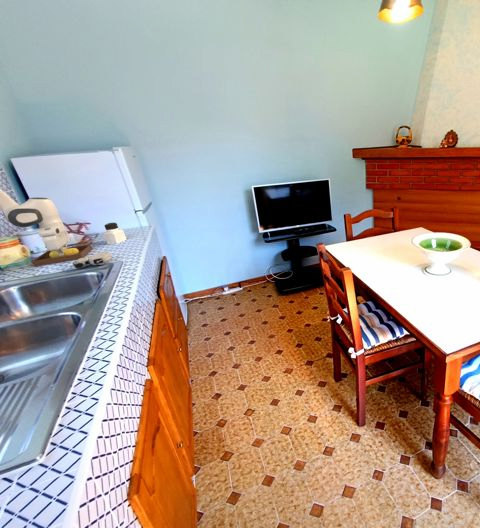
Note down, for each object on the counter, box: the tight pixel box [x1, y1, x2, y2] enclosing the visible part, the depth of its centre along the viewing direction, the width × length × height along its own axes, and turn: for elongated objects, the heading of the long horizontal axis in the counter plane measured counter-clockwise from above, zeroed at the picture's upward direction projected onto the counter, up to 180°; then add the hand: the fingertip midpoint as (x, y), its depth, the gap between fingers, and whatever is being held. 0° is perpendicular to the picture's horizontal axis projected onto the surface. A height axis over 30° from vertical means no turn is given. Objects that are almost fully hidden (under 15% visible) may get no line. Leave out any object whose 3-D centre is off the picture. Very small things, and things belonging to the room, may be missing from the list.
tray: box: [31, 244, 93, 268], centre depth 160 cm, size 19×19×3 cm
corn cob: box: [49, 247, 79, 258], centre depth 159 cm, size 12×4×4 cm, turn 117°
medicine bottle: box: [102, 222, 127, 245], centre depth 180 cm, size 7×7×12 cm
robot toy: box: [70, 250, 112, 269], centre depth 146 cm, size 12×4×15 cm
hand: (64, 253), depth 159 cm, fingers closed on corn cob, 4 cm apart
